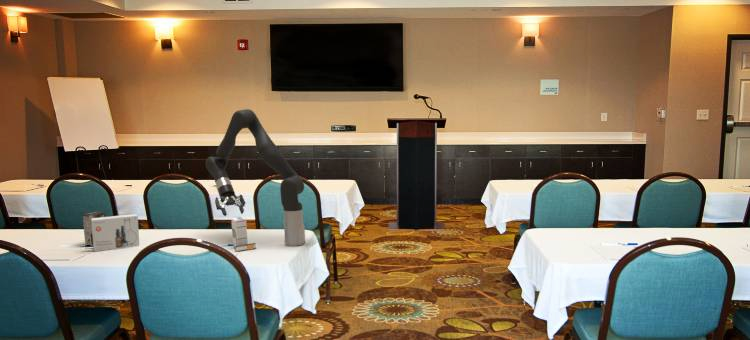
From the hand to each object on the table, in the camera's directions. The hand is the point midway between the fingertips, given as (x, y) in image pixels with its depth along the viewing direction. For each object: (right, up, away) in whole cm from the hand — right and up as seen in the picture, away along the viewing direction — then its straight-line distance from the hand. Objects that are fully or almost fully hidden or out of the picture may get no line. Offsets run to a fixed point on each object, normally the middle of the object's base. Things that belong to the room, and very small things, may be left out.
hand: (234, 214), depth 297 cm
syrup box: (+4, -16, -4) cm, 17 cm away
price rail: (+7, -17, -9) cm, 20 cm away
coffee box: (-73, -16, +11) cm, 76 cm away
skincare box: (-59, -17, +2) cm, 61 cm away
